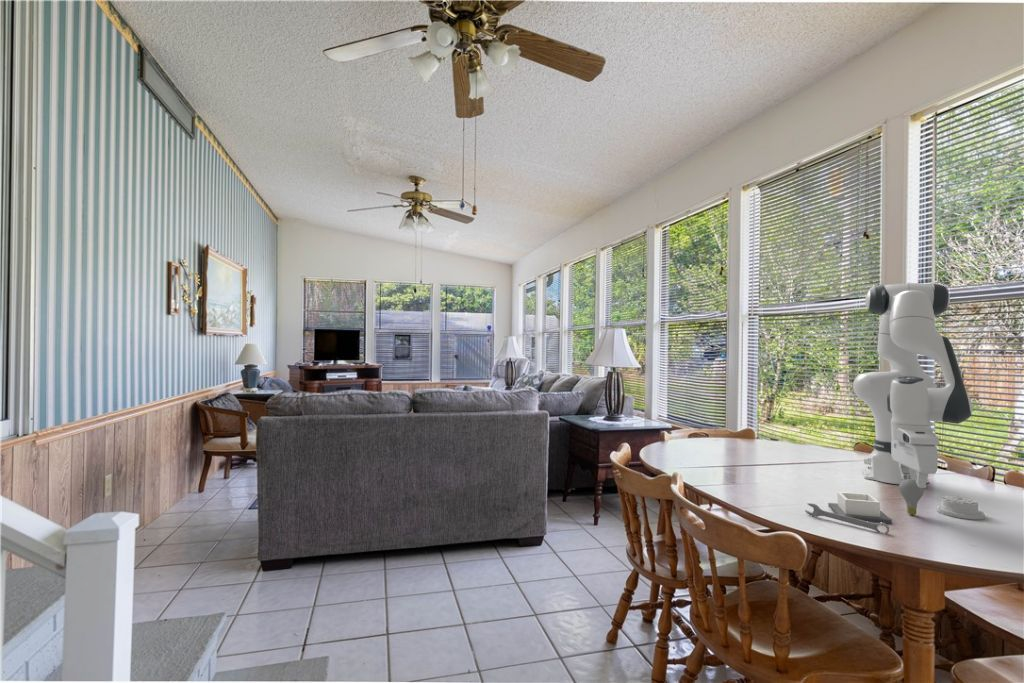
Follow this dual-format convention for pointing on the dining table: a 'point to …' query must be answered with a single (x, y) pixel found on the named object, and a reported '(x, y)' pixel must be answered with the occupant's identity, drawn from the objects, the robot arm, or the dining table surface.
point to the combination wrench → (845, 518)
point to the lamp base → (859, 507)
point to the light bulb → (911, 494)
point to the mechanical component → (960, 508)
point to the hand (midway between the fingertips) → (913, 483)
